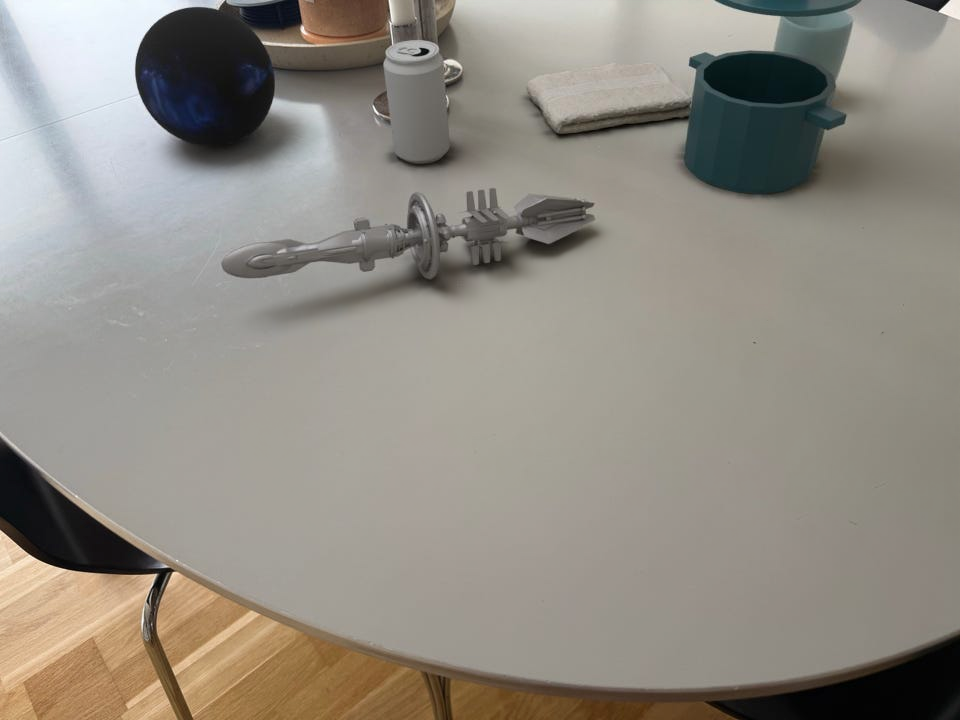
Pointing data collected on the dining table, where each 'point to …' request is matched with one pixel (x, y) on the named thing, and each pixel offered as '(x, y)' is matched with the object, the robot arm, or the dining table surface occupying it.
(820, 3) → the lid
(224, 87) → the decorative sphere
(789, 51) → the cup
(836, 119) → the pot
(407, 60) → the beverage can
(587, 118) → the washcloth
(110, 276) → the dining table surface
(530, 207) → the spaceship
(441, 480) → the dining table surface
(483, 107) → the dining table surface
